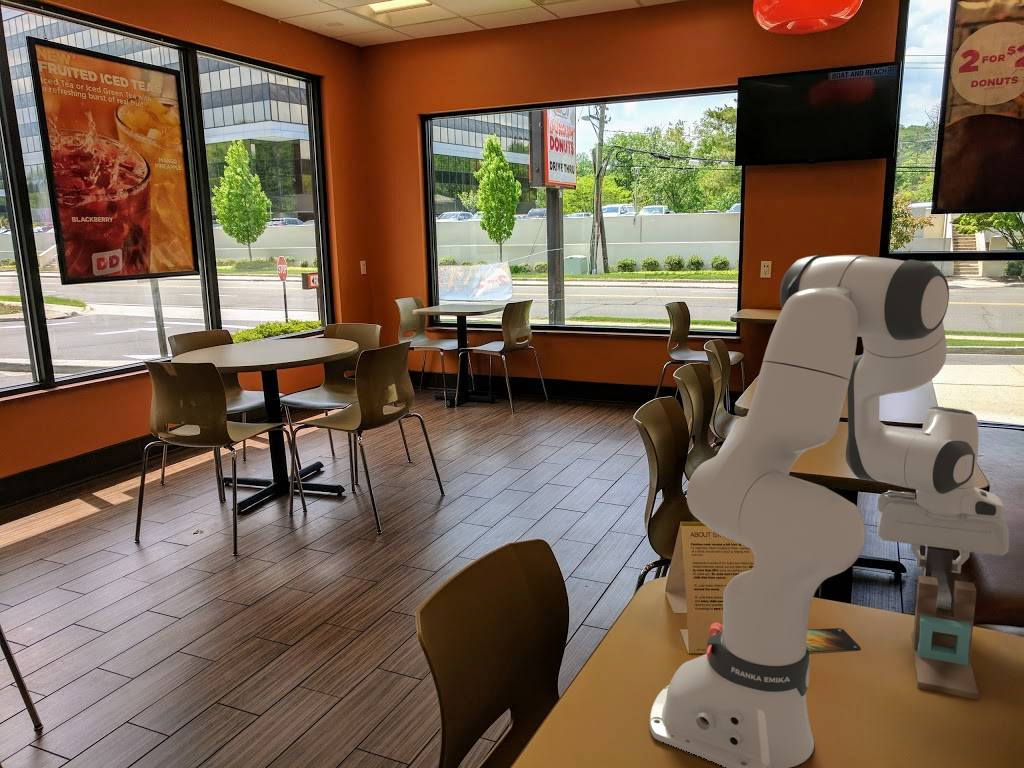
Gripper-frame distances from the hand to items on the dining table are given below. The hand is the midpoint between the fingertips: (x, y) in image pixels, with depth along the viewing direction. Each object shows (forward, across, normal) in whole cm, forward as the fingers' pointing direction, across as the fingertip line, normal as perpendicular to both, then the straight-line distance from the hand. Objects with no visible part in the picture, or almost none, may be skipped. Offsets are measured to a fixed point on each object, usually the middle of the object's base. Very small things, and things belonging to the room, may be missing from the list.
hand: (937, 569), depth 133 cm
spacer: (+9, 0, -16) cm, 18 cm away
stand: (+10, 0, -17) cm, 19 cm away
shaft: (+3, 0, -5) cm, 6 cm away
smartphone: (+10, -20, -17) cm, 28 cm away
